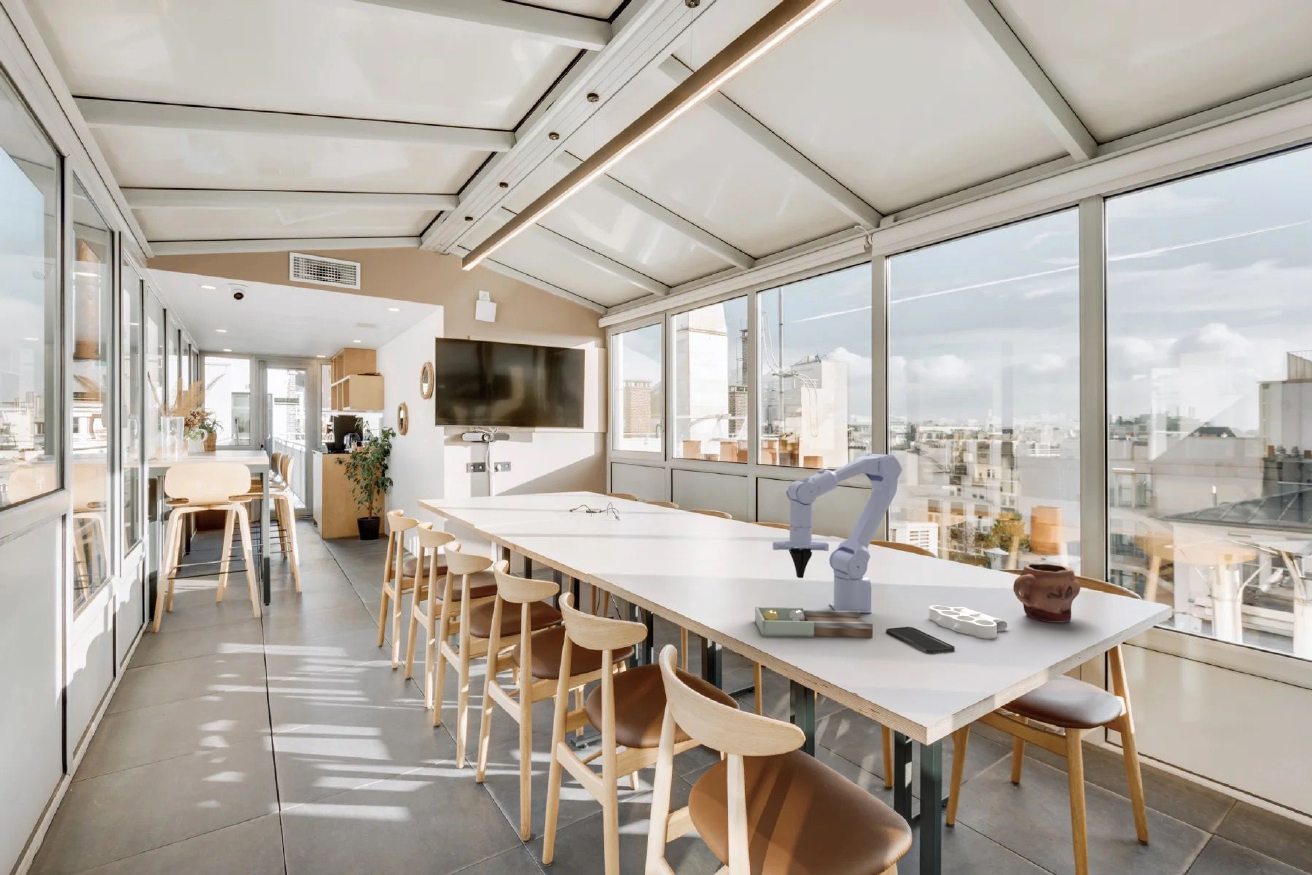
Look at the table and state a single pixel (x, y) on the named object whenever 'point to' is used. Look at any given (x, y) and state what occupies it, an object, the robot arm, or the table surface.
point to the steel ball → (796, 615)
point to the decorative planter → (1047, 591)
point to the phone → (920, 640)
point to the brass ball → (770, 616)
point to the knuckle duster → (967, 621)
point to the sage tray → (783, 624)
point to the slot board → (839, 623)
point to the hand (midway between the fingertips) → (799, 577)
